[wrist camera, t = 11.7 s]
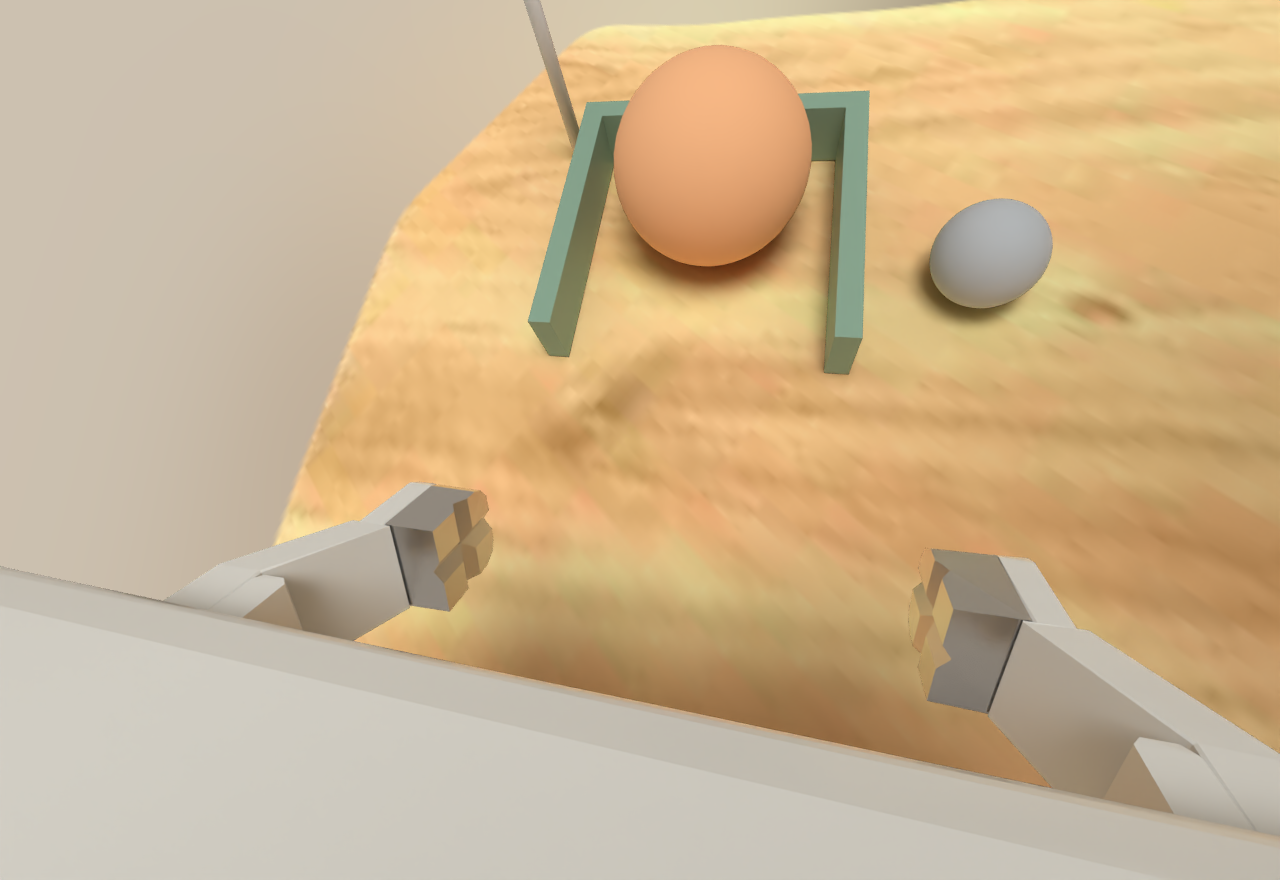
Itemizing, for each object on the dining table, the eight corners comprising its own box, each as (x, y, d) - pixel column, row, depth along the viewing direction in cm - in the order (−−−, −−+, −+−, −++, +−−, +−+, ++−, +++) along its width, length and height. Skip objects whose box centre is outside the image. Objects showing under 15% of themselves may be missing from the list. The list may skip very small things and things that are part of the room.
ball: (679, 212, 22) (698, 334, 31) (879, 69, 22) (838, 232, 31) (550, 80, 25) (602, 225, 34) (724, -42, 25) (729, 135, 35)
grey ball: (965, 233, 30) (1006, 156, 25) (1043, 289, 28) (1103, 217, 23) (895, 284, 29) (924, 216, 25) (970, 345, 28) (1016, 283, 23)
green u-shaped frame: (848, 374, 28) (940, 137, 15) (523, 353, 32) (378, 150, 19) (856, 145, 33) (931, -175, 20) (577, 151, 37) (492, -116, 24)
